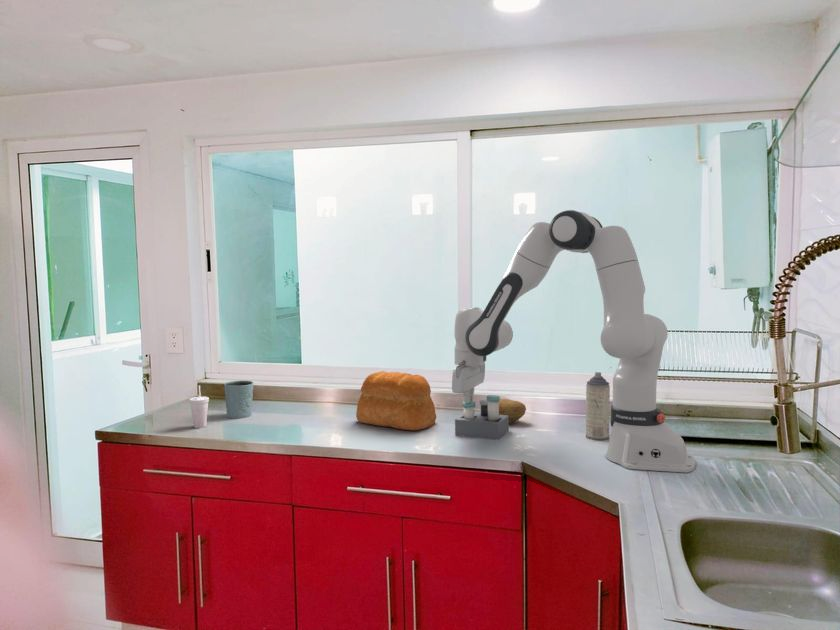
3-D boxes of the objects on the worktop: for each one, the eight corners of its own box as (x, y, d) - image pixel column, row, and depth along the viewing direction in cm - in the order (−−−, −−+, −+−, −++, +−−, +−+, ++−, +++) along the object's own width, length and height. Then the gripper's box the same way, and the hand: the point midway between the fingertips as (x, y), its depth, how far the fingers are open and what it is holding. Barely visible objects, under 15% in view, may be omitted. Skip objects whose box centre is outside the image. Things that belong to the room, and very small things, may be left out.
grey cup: (223, 414, 217) (222, 381, 216) (252, 411, 221) (251, 379, 220) (227, 420, 208) (226, 386, 207) (256, 417, 212) (255, 384, 211)
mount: (508, 430, 190) (508, 400, 189) (498, 440, 180) (498, 408, 179) (467, 426, 196) (467, 396, 195) (455, 435, 186) (454, 404, 185)
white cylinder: (477, 423, 189) (477, 401, 189) (472, 426, 186) (472, 404, 185) (465, 422, 191) (465, 400, 190) (460, 425, 187) (460, 403, 187)
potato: (520, 428, 193) (520, 404, 192) (480, 423, 200) (480, 399, 199) (530, 421, 201) (530, 398, 201) (491, 416, 208) (491, 394, 208)
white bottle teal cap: (501, 418, 186) (501, 395, 185) (497, 421, 182) (497, 398, 182) (489, 417, 187) (489, 394, 187) (485, 420, 184) (484, 397, 183)
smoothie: (213, 424, 203) (211, 383, 202) (205, 429, 196) (203, 387, 195) (195, 424, 203) (193, 383, 202) (186, 429, 197) (184, 387, 196)
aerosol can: (613, 439, 179) (614, 373, 177) (593, 441, 177) (593, 375, 176) (601, 433, 186) (601, 370, 184) (581, 435, 184) (582, 371, 182)
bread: (416, 433, 188) (416, 380, 187) (351, 423, 202) (350, 373, 201) (441, 422, 202) (440, 372, 200) (378, 413, 215) (377, 366, 214)
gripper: (466, 364, 176) (466, 410, 177) (488, 354, 194) (488, 396, 196) (446, 363, 179) (446, 408, 180) (470, 353, 197) (470, 394, 198)
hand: (468, 402), depth 188 cm, fingers closed, pressing on white cylinder
